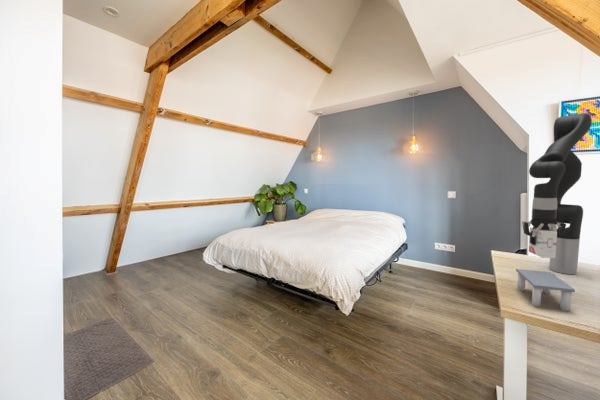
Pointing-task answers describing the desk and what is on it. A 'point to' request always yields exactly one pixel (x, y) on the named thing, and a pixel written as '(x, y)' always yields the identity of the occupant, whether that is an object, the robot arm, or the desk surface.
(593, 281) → the desk surface
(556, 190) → the robot arm
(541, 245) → the ink cartridge box
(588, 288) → the desk surface
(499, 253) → the desk surface
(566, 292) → the grey toy table
